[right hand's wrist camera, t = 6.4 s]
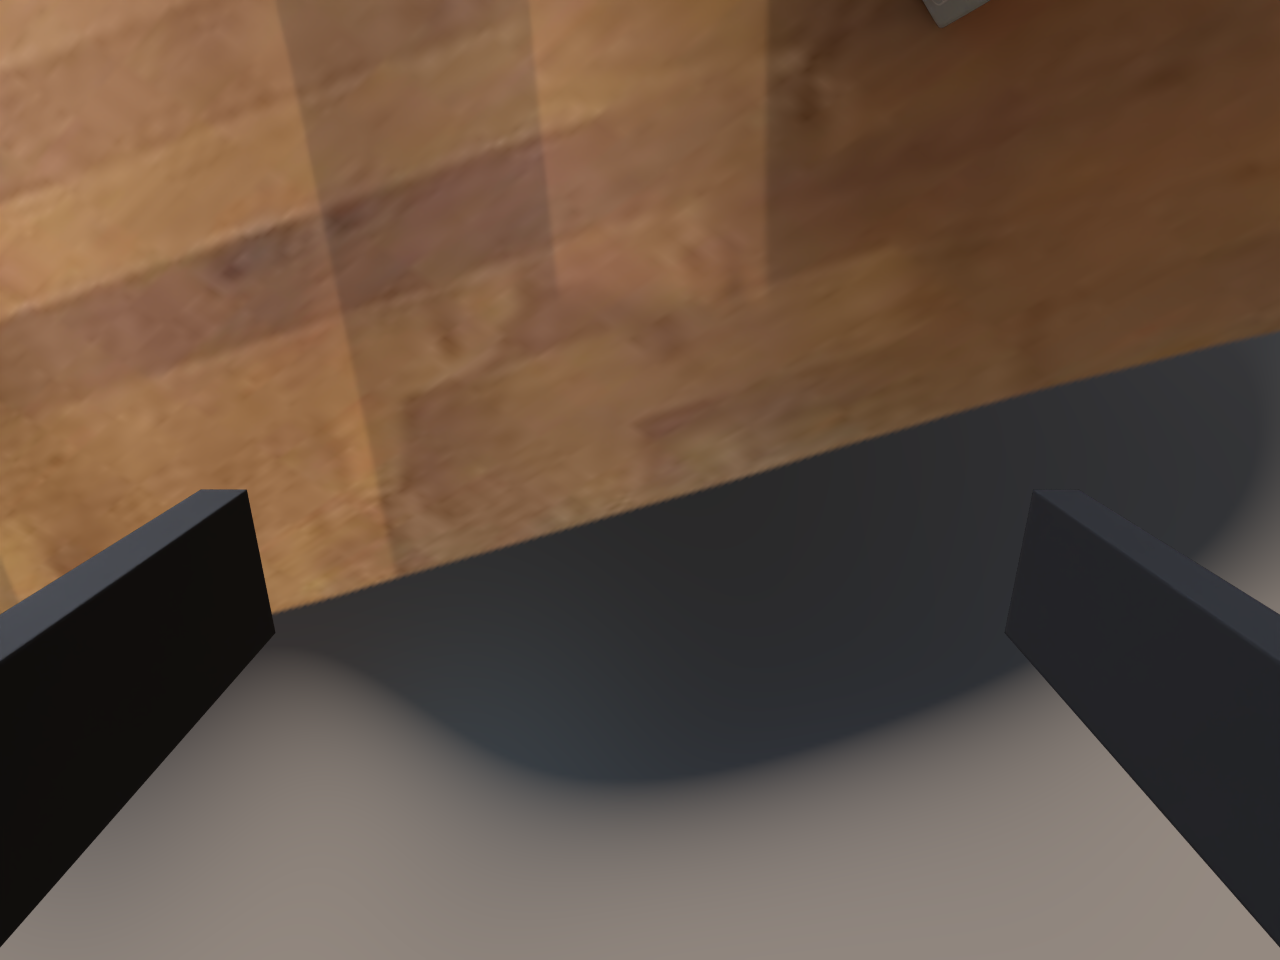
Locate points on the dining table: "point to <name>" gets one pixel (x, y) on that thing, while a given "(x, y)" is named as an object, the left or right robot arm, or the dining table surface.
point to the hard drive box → (951, 9)
